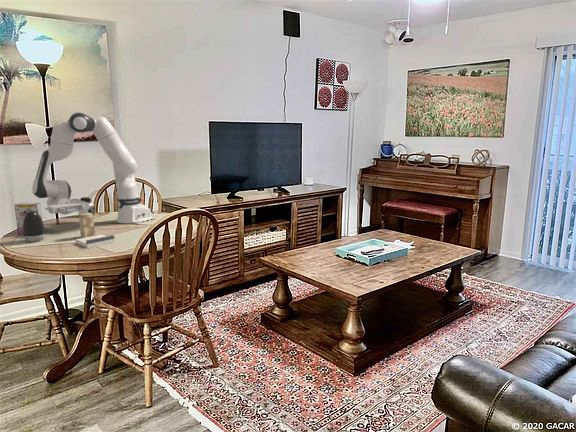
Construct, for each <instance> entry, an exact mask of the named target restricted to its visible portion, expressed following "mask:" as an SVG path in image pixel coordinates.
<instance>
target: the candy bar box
mask: <svg viewBox="0 0 576 432" xmlns="http://www.w3.org/2000/svg"><path fill="white" fill-rule="evenodd" d="M41 207H42V206H41V202H18V203H17V202H16V203H15V204H14V212H15V220H16V228H17V234H18V235H22V225H23V220H24V217H25V214H24V212H29V211H35V212H37V213H38V214H39V216H40V217H41V219H42V220H43V217H42V216H43V215H42V208H41Z"/></svg>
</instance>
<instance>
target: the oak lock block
mask: <svg viewBox="0 0 576 432" xmlns="http://www.w3.org/2000/svg"><path fill="white" fill-rule="evenodd" d="M78 217H79V218H78V219H79V227H80V237H81V238H86V237H91V236H96V230H95V223H94V222H95V221H94V216H93V214H91V213H84V214H79V213H78Z"/></svg>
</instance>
